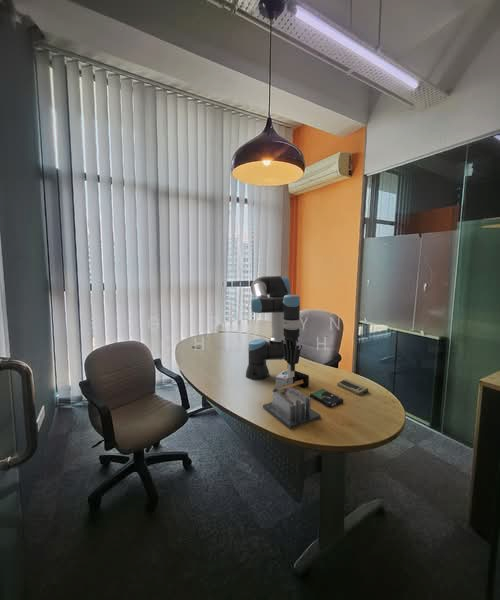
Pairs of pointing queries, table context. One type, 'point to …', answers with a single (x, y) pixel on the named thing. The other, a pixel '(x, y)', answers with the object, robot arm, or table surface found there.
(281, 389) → the latch bar
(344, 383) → the computer
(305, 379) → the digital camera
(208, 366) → the table surface
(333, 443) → the table surface
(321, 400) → the disk drive
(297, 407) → the heatsink base
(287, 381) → the light bulb box
